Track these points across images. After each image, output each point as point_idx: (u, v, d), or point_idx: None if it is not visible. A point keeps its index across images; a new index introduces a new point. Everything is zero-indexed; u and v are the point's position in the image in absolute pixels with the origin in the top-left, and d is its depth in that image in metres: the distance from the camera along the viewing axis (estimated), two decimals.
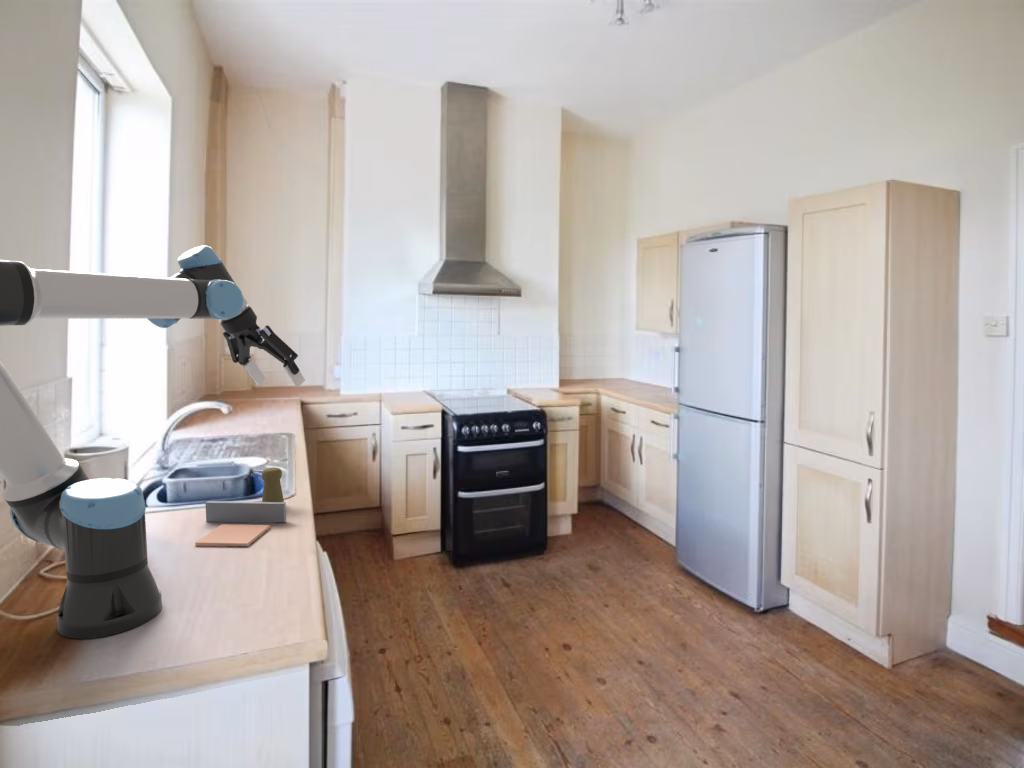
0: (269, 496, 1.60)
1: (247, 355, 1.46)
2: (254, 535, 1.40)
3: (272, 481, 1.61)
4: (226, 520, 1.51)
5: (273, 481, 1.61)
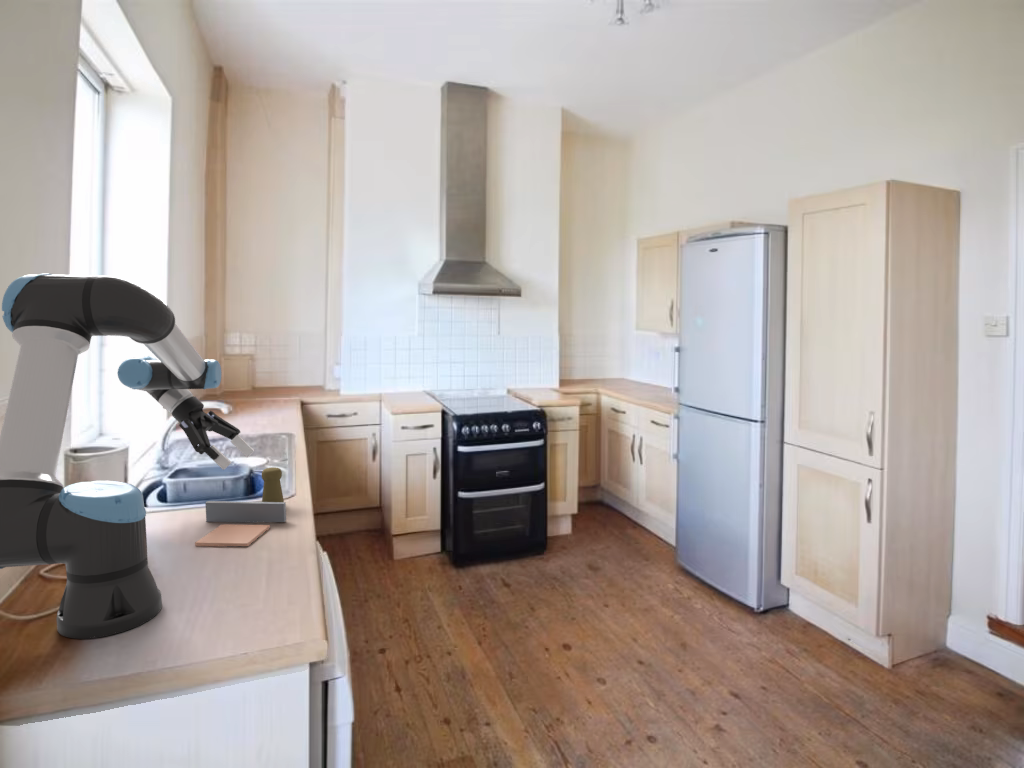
0: (269, 496, 1.60)
1: None
2: (254, 535, 1.40)
3: (272, 481, 1.61)
4: (226, 520, 1.51)
5: (273, 481, 1.61)
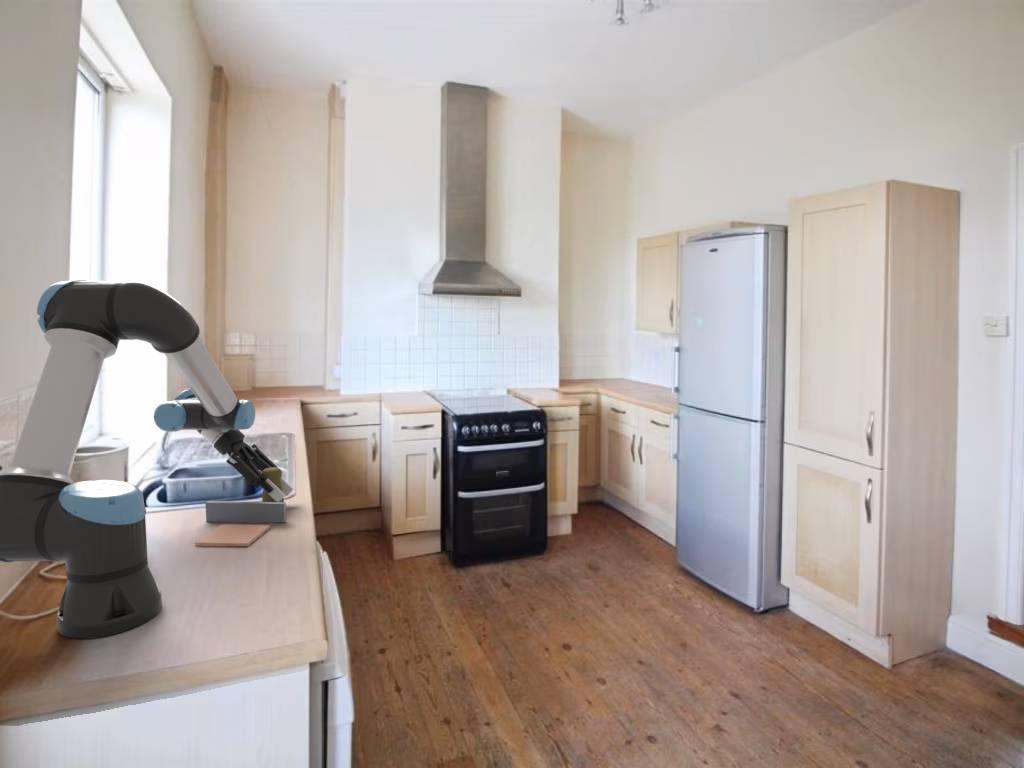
0: (269, 495, 1.60)
1: None
2: (254, 535, 1.40)
3: (272, 481, 1.61)
4: (226, 520, 1.51)
5: (273, 481, 1.61)
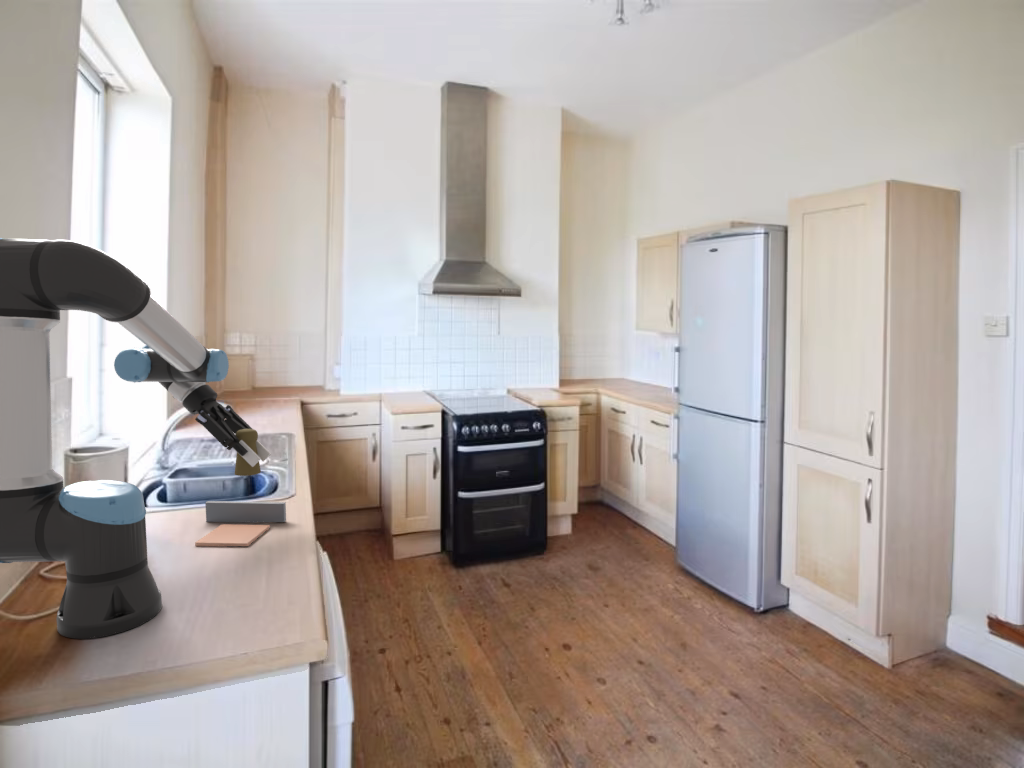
0: (243, 459, 1.46)
1: None
2: (254, 535, 1.40)
3: (246, 443, 1.46)
4: (226, 520, 1.51)
5: (247, 443, 1.46)
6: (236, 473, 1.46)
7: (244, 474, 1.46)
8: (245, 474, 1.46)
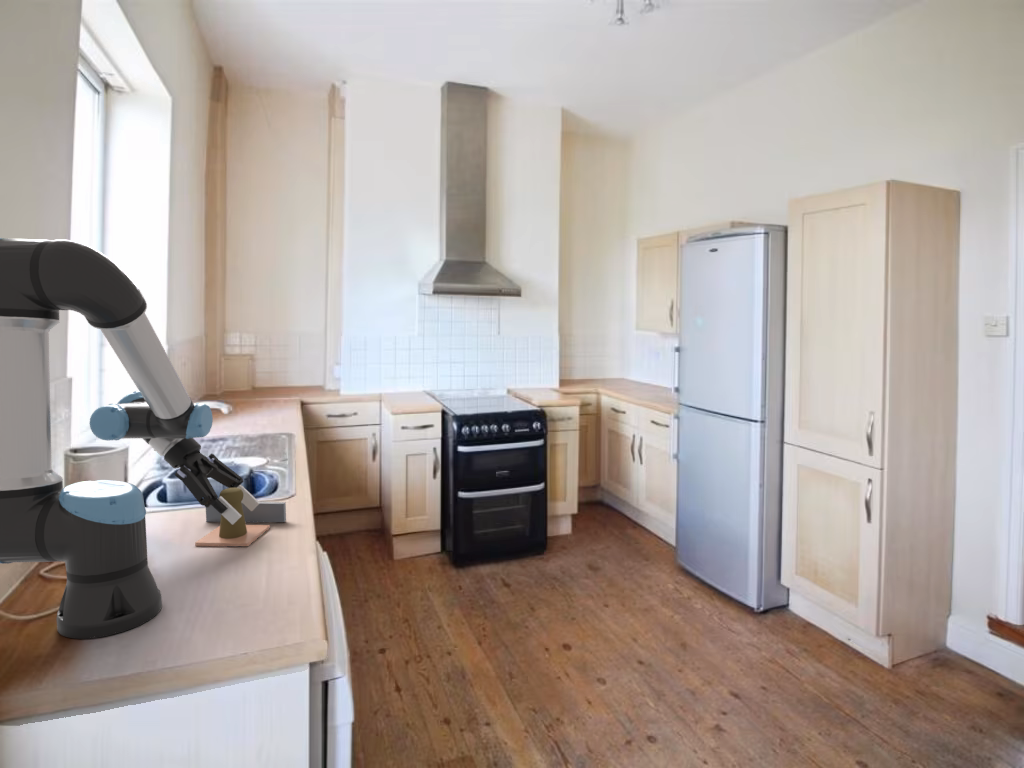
0: (228, 521, 1.38)
1: None
2: (254, 535, 1.40)
3: (231, 504, 1.38)
4: None
5: (232, 504, 1.38)
6: (221, 535, 1.39)
7: (229, 537, 1.38)
8: (230, 537, 1.38)
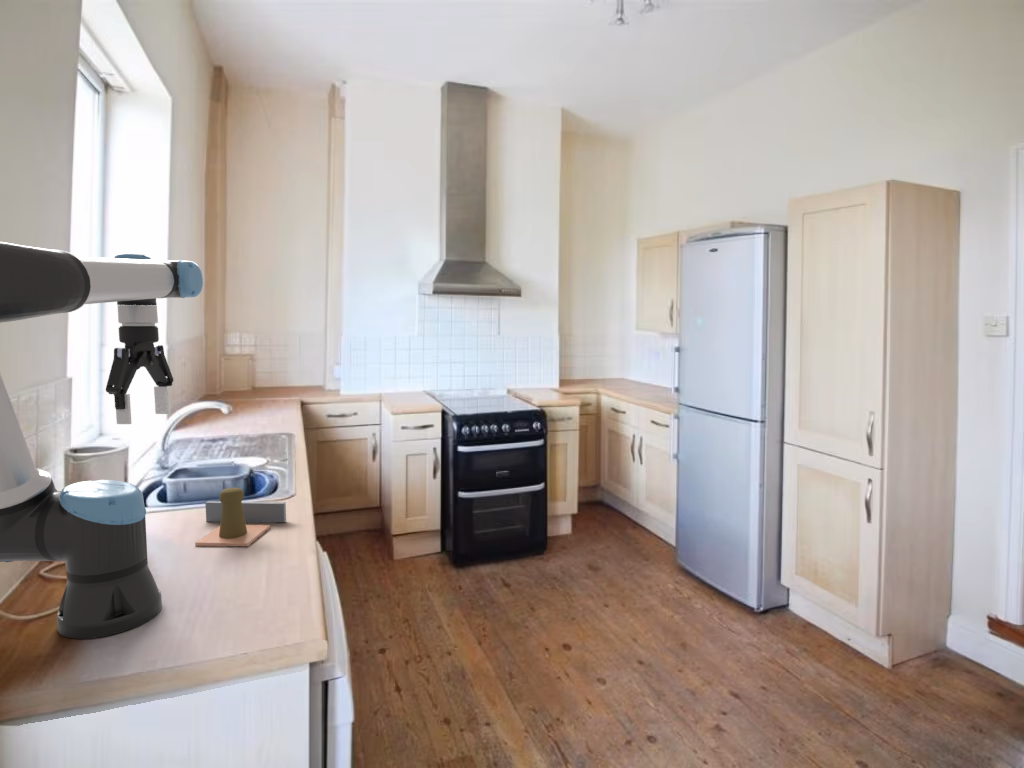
0: (228, 521, 1.38)
1: None
2: (254, 535, 1.40)
3: (231, 504, 1.38)
4: None
5: (232, 504, 1.38)
6: (221, 535, 1.39)
7: (229, 537, 1.38)
8: (230, 537, 1.38)
